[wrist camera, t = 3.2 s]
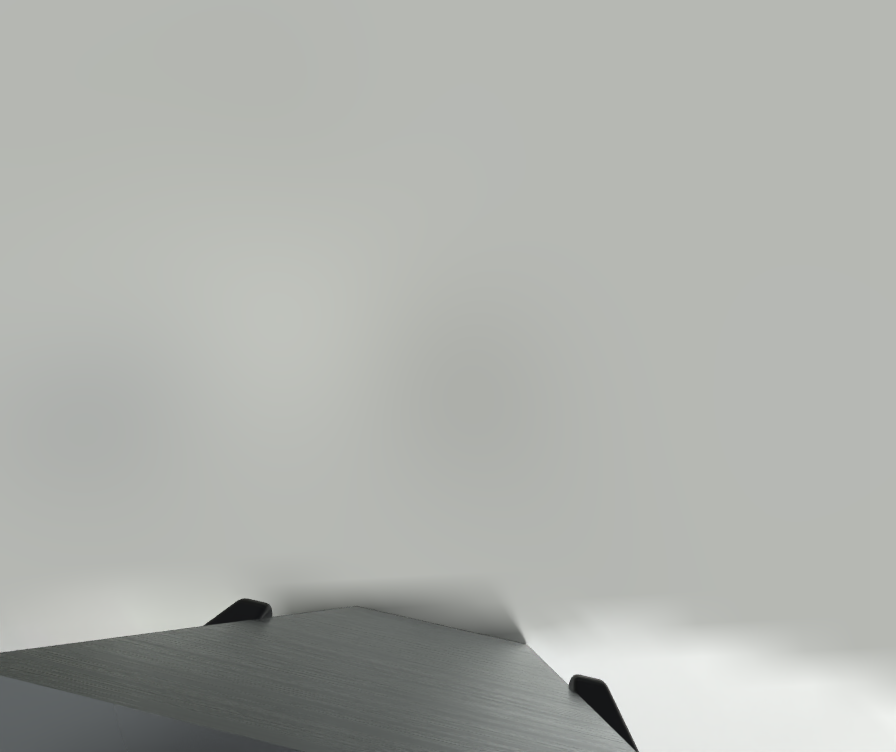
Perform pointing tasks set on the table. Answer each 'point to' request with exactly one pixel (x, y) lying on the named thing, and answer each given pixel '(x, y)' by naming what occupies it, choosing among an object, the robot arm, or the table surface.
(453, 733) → the angle bracket
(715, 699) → the table surface
